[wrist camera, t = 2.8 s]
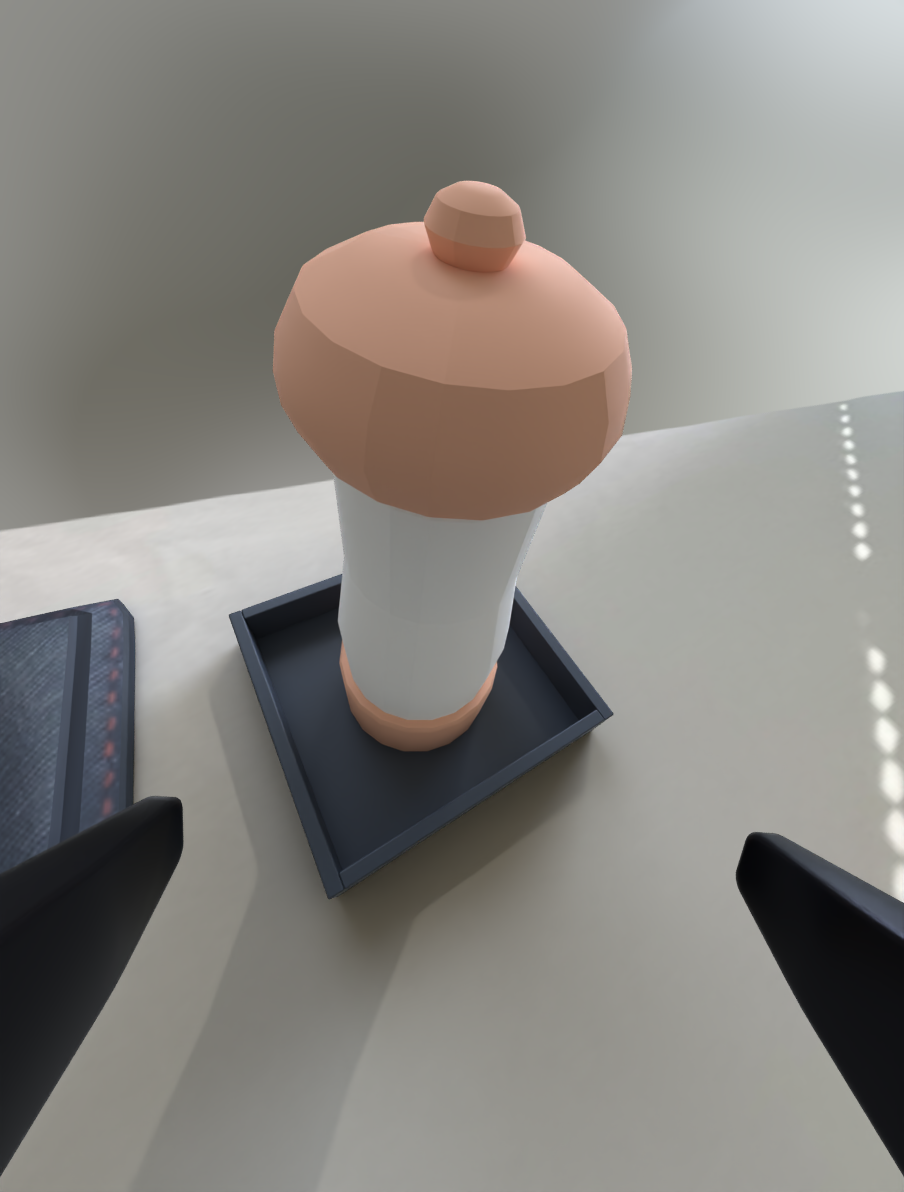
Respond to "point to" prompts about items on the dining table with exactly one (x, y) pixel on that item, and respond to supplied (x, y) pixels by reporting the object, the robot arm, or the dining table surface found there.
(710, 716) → the dining table surface
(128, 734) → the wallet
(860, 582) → the dining table surface
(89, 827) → the robot arm
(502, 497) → the pepper shaker
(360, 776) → the tray
